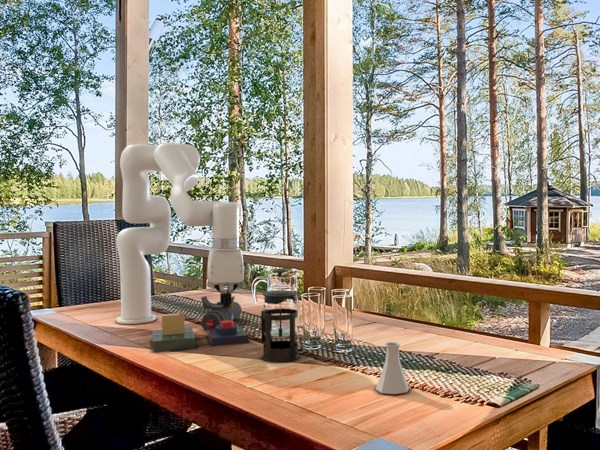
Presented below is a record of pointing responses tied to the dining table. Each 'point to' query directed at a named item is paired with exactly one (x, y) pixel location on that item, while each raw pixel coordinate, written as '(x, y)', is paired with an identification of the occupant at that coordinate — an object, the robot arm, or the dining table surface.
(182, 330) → the tan flat block
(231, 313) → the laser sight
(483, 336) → the dining table surface
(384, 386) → the flask
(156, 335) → the panel
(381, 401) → the dining table surface
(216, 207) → the robot arm
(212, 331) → the button block
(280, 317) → the french press
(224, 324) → the red button
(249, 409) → the dining table surface
